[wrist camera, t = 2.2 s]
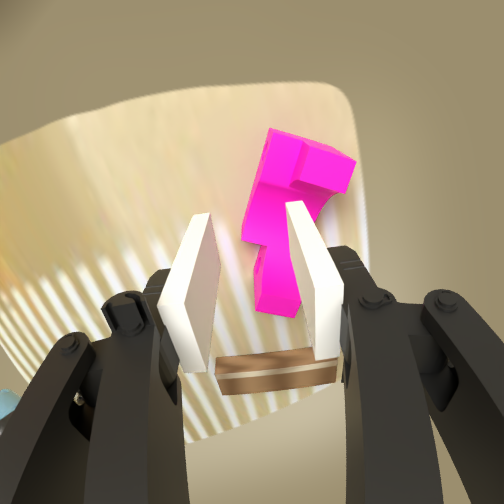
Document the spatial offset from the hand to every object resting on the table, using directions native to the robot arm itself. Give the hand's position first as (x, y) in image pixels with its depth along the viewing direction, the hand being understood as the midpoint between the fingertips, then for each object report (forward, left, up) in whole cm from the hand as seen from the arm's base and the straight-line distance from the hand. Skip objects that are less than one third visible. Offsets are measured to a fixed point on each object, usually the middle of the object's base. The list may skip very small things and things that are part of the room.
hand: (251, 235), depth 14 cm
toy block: (+2, -5, -17) cm, 18 cm away
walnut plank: (0, -28, -17) cm, 32 cm away
